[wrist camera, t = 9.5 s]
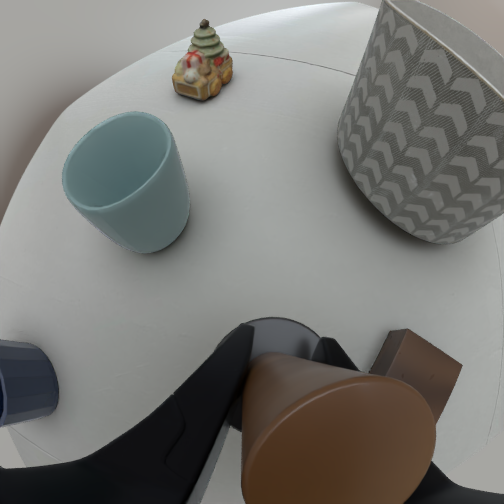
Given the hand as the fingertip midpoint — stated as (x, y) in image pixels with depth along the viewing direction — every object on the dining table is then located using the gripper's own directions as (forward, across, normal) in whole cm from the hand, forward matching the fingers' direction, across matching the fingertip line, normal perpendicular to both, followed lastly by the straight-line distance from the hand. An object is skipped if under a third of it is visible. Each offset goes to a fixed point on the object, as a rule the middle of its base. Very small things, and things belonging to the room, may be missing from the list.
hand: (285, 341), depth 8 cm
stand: (+8, -14, +12) cm, 19 cm away
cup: (+15, +11, +4) cm, 19 cm away
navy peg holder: (+2, +21, +17) cm, 27 cm away
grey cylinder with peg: (+3, 0, +4) cm, 5 cm away
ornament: (+29, +12, -10) cm, 33 cm away
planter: (+24, -13, -4) cm, 27 cm away
